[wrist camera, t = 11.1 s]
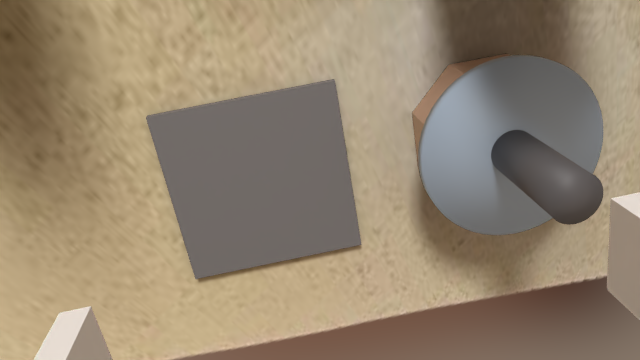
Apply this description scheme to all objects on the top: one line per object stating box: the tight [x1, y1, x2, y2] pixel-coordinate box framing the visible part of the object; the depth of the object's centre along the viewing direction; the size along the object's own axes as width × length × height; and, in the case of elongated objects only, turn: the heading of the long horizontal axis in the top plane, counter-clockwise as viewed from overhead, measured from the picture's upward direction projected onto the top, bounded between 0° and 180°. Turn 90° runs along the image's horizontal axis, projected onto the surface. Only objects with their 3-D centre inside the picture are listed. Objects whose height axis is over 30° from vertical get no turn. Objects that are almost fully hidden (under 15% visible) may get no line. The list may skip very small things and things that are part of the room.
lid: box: [418, 55, 603, 235], centre depth 35 cm, size 13×13×9 cm
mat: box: [146, 79, 361, 279], centre depth 43 cm, size 14×14×1 cm
